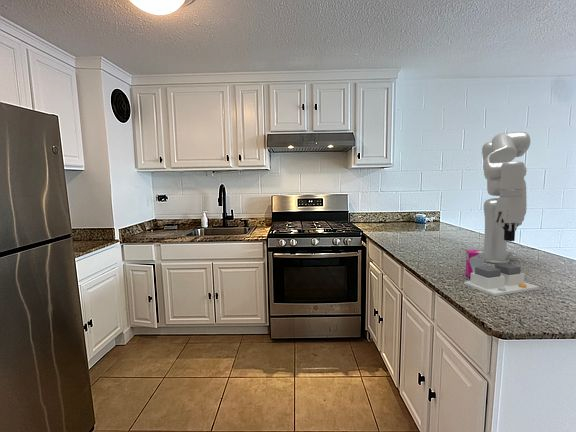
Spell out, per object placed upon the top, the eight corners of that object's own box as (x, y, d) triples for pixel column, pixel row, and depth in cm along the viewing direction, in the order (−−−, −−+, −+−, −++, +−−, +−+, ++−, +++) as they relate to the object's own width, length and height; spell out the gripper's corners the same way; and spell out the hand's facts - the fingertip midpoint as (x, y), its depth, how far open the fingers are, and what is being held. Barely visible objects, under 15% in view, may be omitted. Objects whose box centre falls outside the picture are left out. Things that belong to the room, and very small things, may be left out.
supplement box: (480, 275, 140) (481, 249, 138) (483, 279, 134) (484, 252, 133) (465, 274, 142) (466, 249, 140) (467, 278, 136) (468, 252, 135)
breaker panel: (505, 278, 135) (505, 266, 134) (538, 289, 121) (539, 276, 121) (464, 284, 129) (464, 272, 129) (494, 296, 116) (495, 282, 115)
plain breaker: (486, 275, 129) (487, 265, 128) (500, 279, 123) (500, 269, 123) (474, 276, 127) (474, 267, 127) (487, 281, 121) (488, 271, 121)
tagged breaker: (506, 272, 131) (506, 263, 131) (520, 276, 126) (520, 266, 125) (494, 274, 130) (495, 264, 129) (508, 278, 124) (508, 268, 124)
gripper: (517, 193, 129) (514, 237, 131) (487, 194, 125) (485, 240, 127) (535, 193, 122) (533, 240, 124) (505, 194, 118) (502, 243, 120)
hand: (509, 240), depth 126 cm, fingers closed
